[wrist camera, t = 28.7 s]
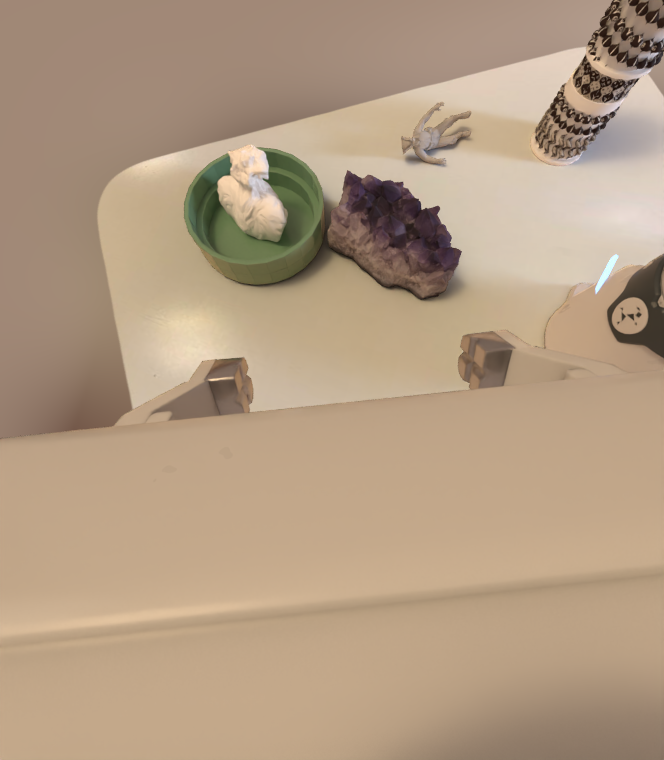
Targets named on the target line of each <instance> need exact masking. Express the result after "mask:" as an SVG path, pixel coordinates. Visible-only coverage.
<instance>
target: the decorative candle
mask: <svg viewBox="0 0 664 760" xmlns="http://www.w3.org/2000/svg"><path fill="white" fill-rule="evenodd" d="M609 16H610V19H609ZM608 19H609V20H608ZM600 26H601V27H600V29H599V30H596V31H595V32H594V33H593V35H592V39H591V40H590V41H589V43H588V46H587V47H586V55H585V57H584V58H583V60H582V62H581V63H580V65H579V66H578V68H576V69H575V71H574V72H573V74H572V75H571V77H570V79H569V80H568V82H567V83H565V84H563V85H562V87H561V90H560V91H559V92H558V93H557V96H556V97H555V98H554V101H553V103H551V105H550V108H549V109H548V110H547V111H546V112H545V115H544V116H543V117H542V120H541V121H540V122H539V125H538V126H537V127H536V130H535V132H534V134H533V135H532V137H531V140H530V147H531V149H532V151H533V153H534V155H536V156H537V157H538V158H539V159H540V160H541V161H543V162H545V163H548V164H550V165H556V166H564V165H569V164H572V163H573V162H575V161H576V160H578V159H579V158H580V156H581V154H582V152H583V151H586V150H587V149H588V147H587V145H589V144H590V143H591V141H594V140H595V139H596V135H597V134H599V132H600V129H604V128H605V127H606V123H607V122H608V121H609V120H610V118H613V117H614V116H615V114H616V111H617V110H618V109H619V105H620V104H621V103H622V102H623V101H624V99H625V98H626V97H627V95H628V93H629V91H630V89H631V88H632V87H633V86H634V85H635V83H636V82H637V81H638V80H639V78H641V77H642V76H644V75H646V74H647V73H649V72H650V71H651V69H652V68H653V66H654V65H657V64H658V63H659V62H660V61H661V57H662V56H663V52H664V0H613V1H612V3H611V6H610V7H609V8H608V9H607V10H606V12H605V16H604V17H602V19H601V20H600Z"/></svg>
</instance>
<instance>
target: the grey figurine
mask: <svg viewBox="0 0 664 760" xmlns="http://www.w3.org/2000/svg"><path fill="white" fill-rule="evenodd" d="M441 104H442V105H441ZM443 105H444V102H440V103H437V104H436V105H435V106H434V107H433V108H431V109H430V110H429V111H428V112H427V113H426V114H425V115H424V116H423V117H422V118H421V120H420V121H419V123H418V125H417V126H416V128H415V129H414V132H413V137H412V140H411V138H410V137H409V138H405V137H403V136H402V137H401V139H402V149H403V154H404V153H405V152H406V151H407V150H409V149H410V148H411V147H412V146H413V149H414V150H415V153H416V155H417V156H418V157H420V158H421V159H422V160H423V161H426V162H429V163H434V164H436V163H437V164H446V163H444V162H446V160H444V159H445V158H444V159H436V158H433V157H431V156H429V155H426V153H425V151H424V149H425V150H428V151H429V150H430V149H433V148H438V147H443V146H446V145H448V144H450V145H452V144H455V143H456V141H457V139H459V138H460V137H468V136H470V135H471V131H470V130H468V131H461V132H459V133H458V134H456V135H451V136H443V137H440V136H441V135H442V133H443V132H444V131H445V130H446V129H447V128H449V127H450V126H452V125H453V123H454V122H456V121H457V120H458V119H466V118H468V117H469V116H470V115H471V111H468V112H465V113H461V114H458V115H454V116H453V115H452V116H451V117H449V118H446V119H445V120H444V121H443V122H442V123H440V124H439V125H438V126H436V127H435V128H432V127H427V128H425V129H424V131H422V129H423V127H424V124H425V123H426V122H427V121H428V119H429V118H430V117H431V115H432V114H433V112H434V111H435V110H438V111H439V110H441V109H439V107H440V106H443Z"/></svg>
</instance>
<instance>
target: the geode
mask: <svg viewBox="0 0 664 760" xmlns="http://www.w3.org/2000/svg"><path fill="white" fill-rule="evenodd" d="M439 210H440V207H439V206H436V207H433V208H429V209H427V208H425V209H423V210H421V203H420V201H419V199H416V198H414V196H413V195H412V194H411V193H410V192H409V190H408V189H407V188H404V187H403V182H395V183H394V182H393V181H391V180H387V181H381V180H379V179H377V178H375V177H373V176H372V175H367V176H366V177H365V178H363V179H362V178H360V177H358V176H357V175H355V174H352V173H351V172H350V171H348V170H347V174H346V176H345V180H344V186H343V194H342V198H341V200H340V203H339V206H338V207H337V208H335V209H333V210H332V211H331V221H332V223H331V225H330V227H329V229H328V230H327V237H328V245H329V247H331V248H332V249H333V250H335V251H336V252H339V253H342V254H344V255H346V256H348V257H350V258H352V259H354V260H355V261H356V263H357V264H358V265H359V266H360V267H361V268H362V269H364V270H365V271H367V272H368V273H369V274H370V275H371V276H373V278H374V279H375V280H376V281H377V282H378V283H380V284H381V285H383V286H386V287H392V286H395V285H398V286H401V287H403V288H406V289H408V290H410V291H411V292H412V293H413V294H414V295H415V296H417V297H418V298H419V299H421V300H422V299H426V298H431V297H436V296H438V295H439V294H440V293H442V292H444V291H445V290H446V287H447V285H448V281H449V280H450V279H451V277H452V276H453V274H454V270H455V268H456V267H457V265H458V262H459V258H460V255H461V252H462V251H460V250H459V249H456V248H452V247H451V243H450V241H451V239H452V237H451V235H450V234H449V232H448V231H447V229H446V226H445V225H444V224H441V221H440V219H439V217H438V216H437V214H438V212H439Z"/></svg>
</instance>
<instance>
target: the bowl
mask: <svg viewBox="0 0 664 760" xmlns="http://www.w3.org/2000/svg"><path fill="white" fill-rule="evenodd" d="M258 149H259V150H261V151H264V152H265V154H266V159H267V161H268V165H269V169H268V177H269V178H268V180H267V179H264V178H263V180H264V181H266V182H267V183H268V184H269V185H270V186H271V188H272V189H273V190H274V192H275V193H276V194H277V195H278V197H279V200H280V201H281V202H282V204H283V207H284V208H285V209H286V210H287V213H288V216H287V223H286V226H285V227H284V230H283V233H282V235H281V238H280V240H279V241H278V242H274V241H270V240H259V239H257V238H255V237H253V236H250V235H248V234H246V233H244V232H243V231H242V230H241V229H240V228H239V227H238V225H237V224H236V222H235V220H234V219H233V218H232V217H231V216H230V215H229V214H228V213H227V212H226V211H225V209H224V207H223V206H222V205H221V203H220V201H219V194H218V192H217V189H218V181H219V180H220V179H221V178H222V177H223V176H231V174H230V169H231V167H232V163H230V156H229V154H225V155H223V156H221V157H220V158H218V159H216V160H214V161H213V162H211V163H210V164H208V165H207V166H206V167H205V168H204V169H203V170H202V171H201V172H200V173H199V174H198V175H197V176H196V178H195V179H194V181H193V182H192V184H191V185H190V187H189V189H188V192H187V195H186V198H185V201H184V219H185V222H186V225H187V229H188V232H189V233H190V235H191V236H192V238H193V239H194V241H195V242H196V244H197V245H198V247H199V248H200V250H201V251H202V253H203V254H204V256H205V257H206V259H207V260H208V261H209V263H210V264H211V266H212V267H213V268H214V269H216V270H217V271H218V272H220V273H221V274H222V275H224V276H225V277H228V278H230V279H233V280H235V281H237V282H240V283H247V284H254V285H259V284H269V283H275V282H278V281H281V280H284V279H287V278H290V277H292V276H293V275H295V274H296V273H298V272H299V271H301V270H303V269H304V268H305V267H306V266H307V265H308V264H309V263H310V262H311V261H312V260H313V258H314V257H315V256H316V254H317V252H318V250H319V248H320V246H321V245H322V242H323V237H324V232H325V218H324V202H323V193H322V188H321V185H320V183H319V181H318V179H317V177H316V175H315V174H314V172H313V171H312V170H311V169H310V168H309V167H308V166H307V165H306V164H305V163H304V162H303V161H301V160H300V159H298V158H296V157H295V156H293V155H292V154H289V153H286V152H283V151H280V150H276V149H270V148H261V147H258Z"/></svg>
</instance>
